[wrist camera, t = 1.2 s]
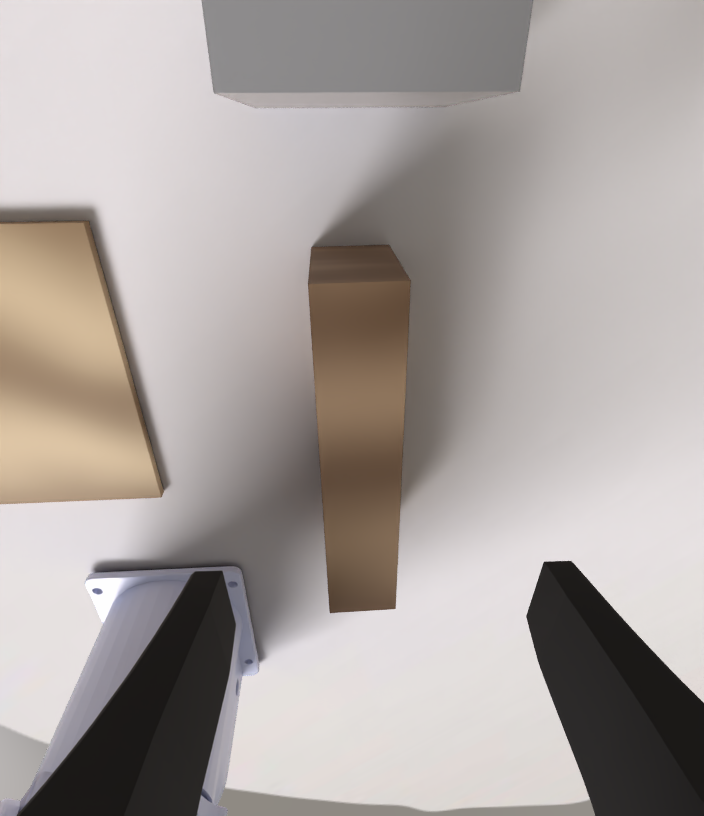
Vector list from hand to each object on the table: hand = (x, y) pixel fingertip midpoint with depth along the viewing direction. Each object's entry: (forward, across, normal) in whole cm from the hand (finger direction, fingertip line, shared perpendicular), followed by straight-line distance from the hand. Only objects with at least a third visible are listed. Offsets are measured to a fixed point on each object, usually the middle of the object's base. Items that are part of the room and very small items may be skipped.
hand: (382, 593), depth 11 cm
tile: (+11, 0, -10) cm, 15 cm away
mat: (+10, +13, 0) cm, 17 cm away
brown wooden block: (+11, 0, +2) cm, 11 cm away
